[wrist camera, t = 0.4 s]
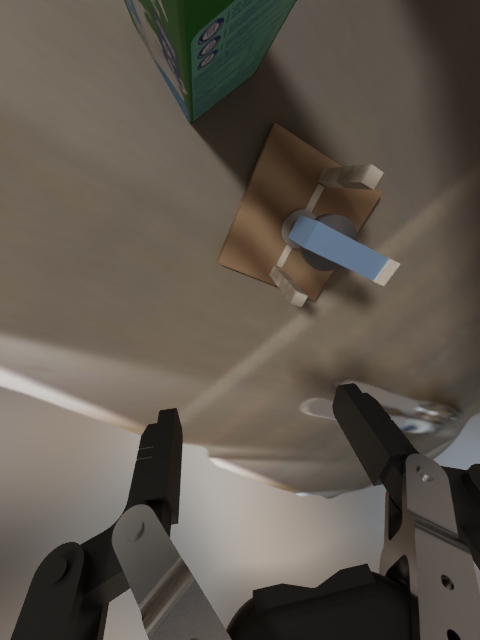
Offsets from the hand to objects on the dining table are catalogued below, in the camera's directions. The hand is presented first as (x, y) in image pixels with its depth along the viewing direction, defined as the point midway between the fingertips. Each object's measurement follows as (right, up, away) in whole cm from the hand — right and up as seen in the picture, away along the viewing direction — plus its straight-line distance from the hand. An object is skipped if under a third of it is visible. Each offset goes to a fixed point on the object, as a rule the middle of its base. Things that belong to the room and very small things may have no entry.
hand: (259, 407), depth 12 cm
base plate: (+7, +18, +24) cm, 31 cm away
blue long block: (+9, +13, +16) cm, 22 cm away
